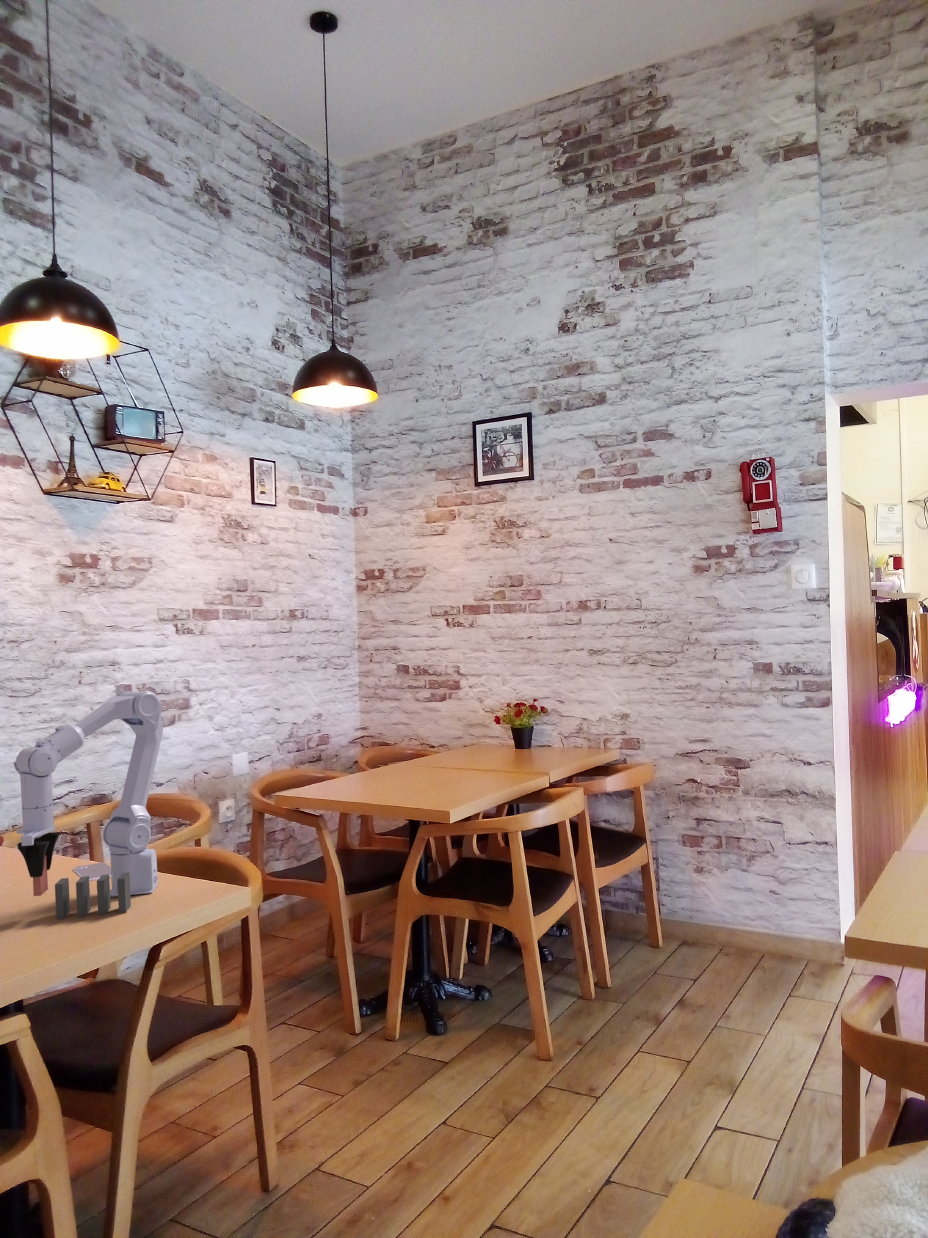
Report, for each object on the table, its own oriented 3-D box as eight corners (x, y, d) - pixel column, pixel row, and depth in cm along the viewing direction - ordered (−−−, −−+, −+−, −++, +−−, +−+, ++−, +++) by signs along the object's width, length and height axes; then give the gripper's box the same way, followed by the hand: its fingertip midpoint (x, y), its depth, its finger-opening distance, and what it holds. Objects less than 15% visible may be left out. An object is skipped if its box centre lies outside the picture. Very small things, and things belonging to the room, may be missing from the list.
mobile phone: (85, 879, 205) (72, 866, 217) (85, 883, 205) (72, 870, 217) (119, 872, 209) (104, 861, 221) (119, 877, 209) (104, 864, 221)
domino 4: (130, 906, 184) (129, 872, 184) (126, 913, 180) (124, 878, 180) (123, 907, 184) (122, 873, 184) (118, 913, 179) (117, 879, 179)
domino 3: (110, 908, 183) (109, 874, 183) (105, 915, 179) (103, 880, 179) (103, 908, 183) (102, 875, 183) (98, 915, 179) (96, 881, 179)
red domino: (47, 889, 182) (46, 855, 182) (41, 895, 177) (39, 860, 177) (40, 890, 181) (39, 855, 181) (33, 896, 177) (32, 861, 177)
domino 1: (70, 912, 182) (68, 878, 182) (63, 919, 178) (62, 884, 178) (62, 912, 182) (61, 878, 182) (56, 919, 177) (54, 884, 178)
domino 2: (90, 910, 183) (89, 876, 183) (84, 917, 178) (83, 882, 178) (83, 910, 183) (81, 876, 183) (77, 917, 178) (75, 882, 178)
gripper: (28, 801, 186) (31, 866, 186) (3, 815, 172) (6, 885, 171) (63, 798, 187) (66, 863, 187) (42, 812, 173) (45, 881, 173)
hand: (40, 873), depth 179 cm, fingers closed on red domino, 4 cm apart
